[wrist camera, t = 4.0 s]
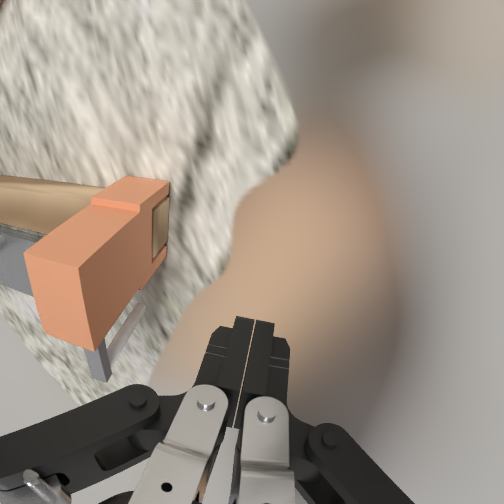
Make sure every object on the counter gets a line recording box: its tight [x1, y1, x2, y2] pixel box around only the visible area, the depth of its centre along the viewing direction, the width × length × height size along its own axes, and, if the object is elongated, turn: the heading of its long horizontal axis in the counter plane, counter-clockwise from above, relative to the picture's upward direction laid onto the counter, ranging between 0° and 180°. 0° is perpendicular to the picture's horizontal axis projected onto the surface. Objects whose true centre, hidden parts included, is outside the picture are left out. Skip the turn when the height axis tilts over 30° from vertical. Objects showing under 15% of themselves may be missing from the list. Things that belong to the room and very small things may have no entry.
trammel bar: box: [0, 175, 170, 258], centre depth 19 cm, size 9×24×7 cm, turn 82°
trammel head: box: [23, 176, 169, 383], centre depth 17 cm, size 10×3×10 cm, turn 172°
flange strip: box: [0, 227, 43, 297], centre depth 24 cm, size 6×16×1 cm, turn 82°
